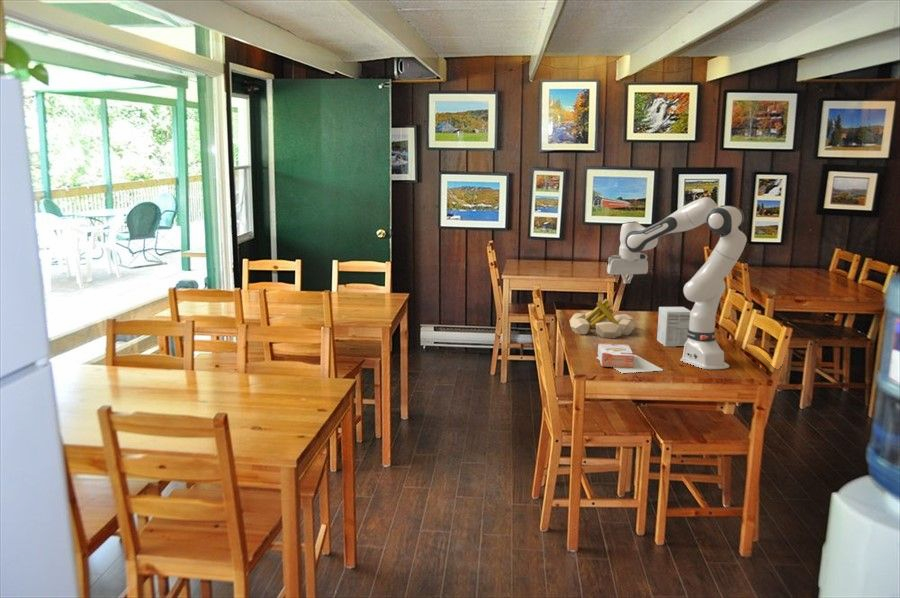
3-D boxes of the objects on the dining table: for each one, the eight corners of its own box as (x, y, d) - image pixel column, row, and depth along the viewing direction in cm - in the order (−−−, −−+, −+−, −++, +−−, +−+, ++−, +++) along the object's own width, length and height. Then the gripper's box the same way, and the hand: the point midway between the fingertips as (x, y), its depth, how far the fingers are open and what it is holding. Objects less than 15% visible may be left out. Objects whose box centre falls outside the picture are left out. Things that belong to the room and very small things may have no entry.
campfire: (642, 328, 415) (643, 297, 411) (625, 342, 385) (626, 308, 382) (579, 321, 431) (581, 291, 427) (559, 333, 401) (560, 301, 398)
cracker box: (628, 343, 355) (634, 355, 335) (627, 355, 357) (633, 368, 336) (597, 342, 357) (602, 354, 336) (597, 354, 358) (601, 367, 337)
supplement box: (691, 346, 376) (693, 312, 373) (664, 346, 376) (667, 312, 372) (681, 340, 389) (684, 306, 386) (656, 340, 389) (658, 306, 385)
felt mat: (664, 371, 334) (664, 370, 334) (622, 373, 329) (622, 372, 329) (635, 355, 358) (635, 354, 358) (596, 357, 354) (596, 357, 353)
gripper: (611, 256, 363) (609, 285, 365) (650, 255, 368) (648, 283, 370) (605, 254, 369) (604, 282, 371) (644, 253, 374) (642, 281, 376)
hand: (626, 283), depth 371 cm, fingers closed
